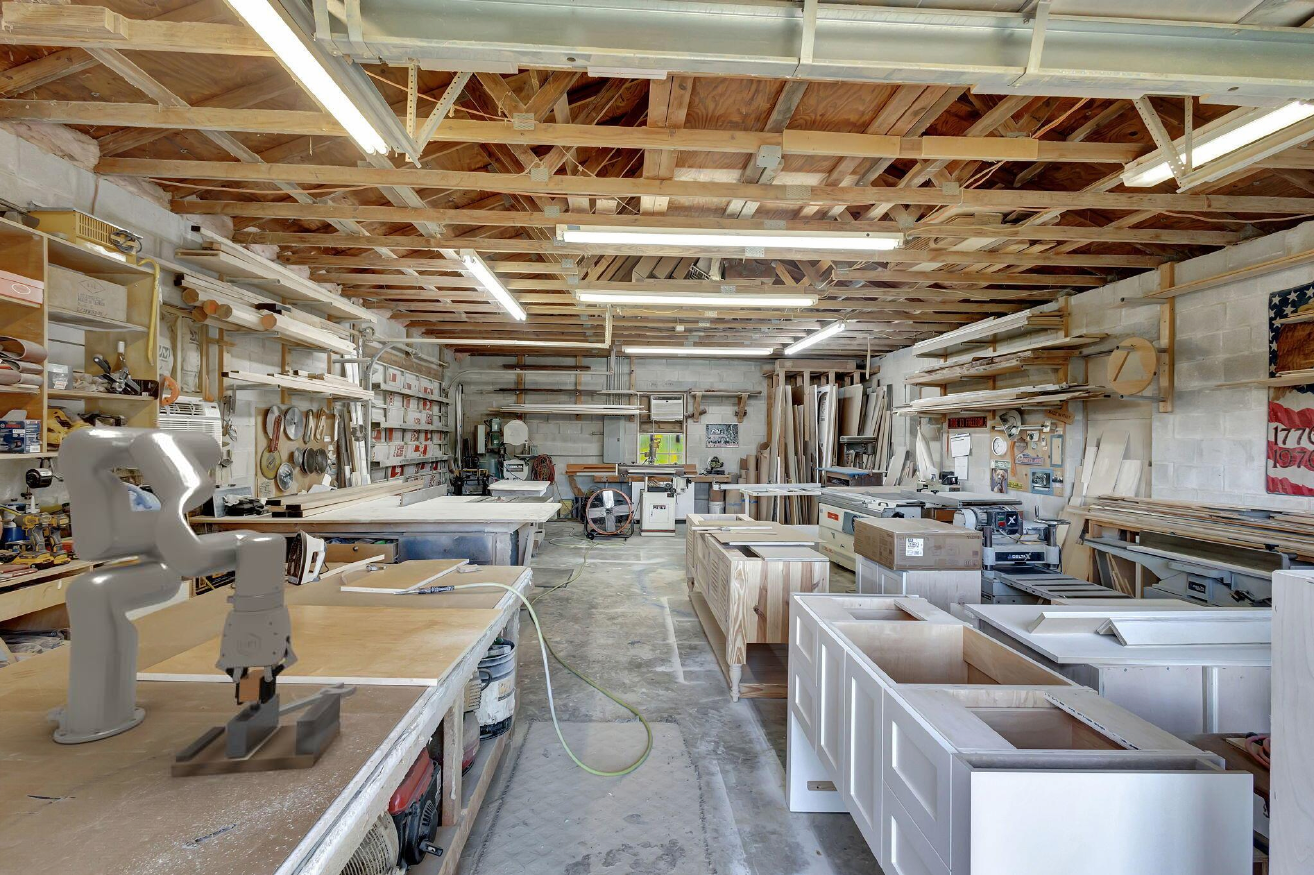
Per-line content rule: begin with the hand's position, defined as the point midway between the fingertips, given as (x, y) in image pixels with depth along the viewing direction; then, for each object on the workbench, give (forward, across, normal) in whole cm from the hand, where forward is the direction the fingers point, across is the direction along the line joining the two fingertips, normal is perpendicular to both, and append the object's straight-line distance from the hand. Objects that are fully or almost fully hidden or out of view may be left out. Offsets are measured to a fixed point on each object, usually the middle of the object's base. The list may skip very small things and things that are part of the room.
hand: (255, 700), depth 99 cm
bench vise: (+10, +2, 0) cm, 10 cm away
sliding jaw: (+7, 0, 0) cm, 7 cm away
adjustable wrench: (+10, -2, +18) cm, 21 cm away
